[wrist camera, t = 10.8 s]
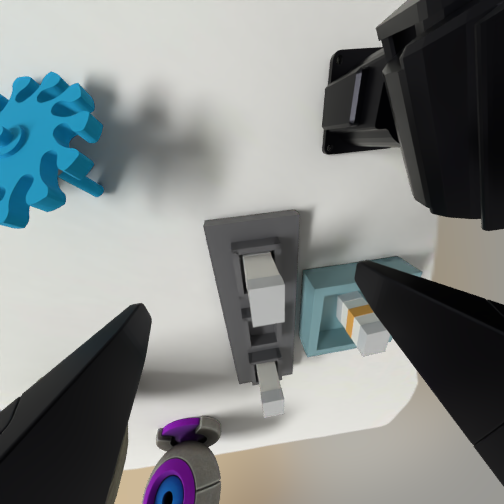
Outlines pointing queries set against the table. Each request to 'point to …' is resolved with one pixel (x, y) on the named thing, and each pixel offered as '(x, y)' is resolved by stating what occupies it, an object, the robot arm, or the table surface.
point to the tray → (332, 304)
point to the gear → (43, 146)
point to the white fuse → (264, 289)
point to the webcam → (186, 464)
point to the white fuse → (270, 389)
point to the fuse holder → (235, 292)
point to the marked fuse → (361, 324)
